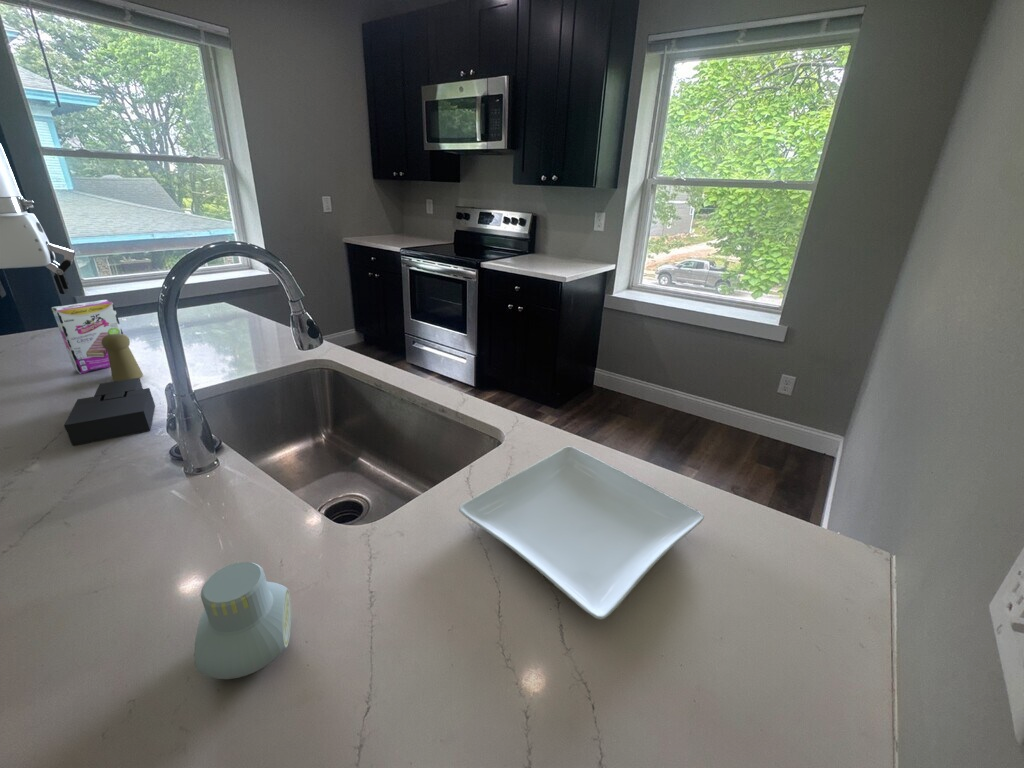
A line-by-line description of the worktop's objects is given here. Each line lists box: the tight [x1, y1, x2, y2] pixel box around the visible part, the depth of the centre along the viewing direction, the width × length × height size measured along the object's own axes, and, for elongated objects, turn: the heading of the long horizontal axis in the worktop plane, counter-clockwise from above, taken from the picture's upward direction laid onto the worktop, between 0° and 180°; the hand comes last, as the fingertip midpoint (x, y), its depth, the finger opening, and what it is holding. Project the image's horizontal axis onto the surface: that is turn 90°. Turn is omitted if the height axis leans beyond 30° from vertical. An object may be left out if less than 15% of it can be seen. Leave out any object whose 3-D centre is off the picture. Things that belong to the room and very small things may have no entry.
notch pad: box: [63, 387, 156, 447], centre depth 95 cm, size 12×12×4 cm
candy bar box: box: [51, 299, 124, 375], centre depth 118 cm, size 11×5×16 cm, turn 144°
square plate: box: [458, 445, 705, 620], centre depth 71 cm, size 27×27×4 cm
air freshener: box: [193, 561, 292, 680], centre depth 51 cm, size 11×8×10 cm
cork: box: [102, 333, 144, 382], centre depth 114 cm, size 6×6×11 cm
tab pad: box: [93, 378, 144, 401], centre depth 101 cm, size 7×10×4 cm
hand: (33, 294), depth 96 cm, fingers open, 9 cm apart
